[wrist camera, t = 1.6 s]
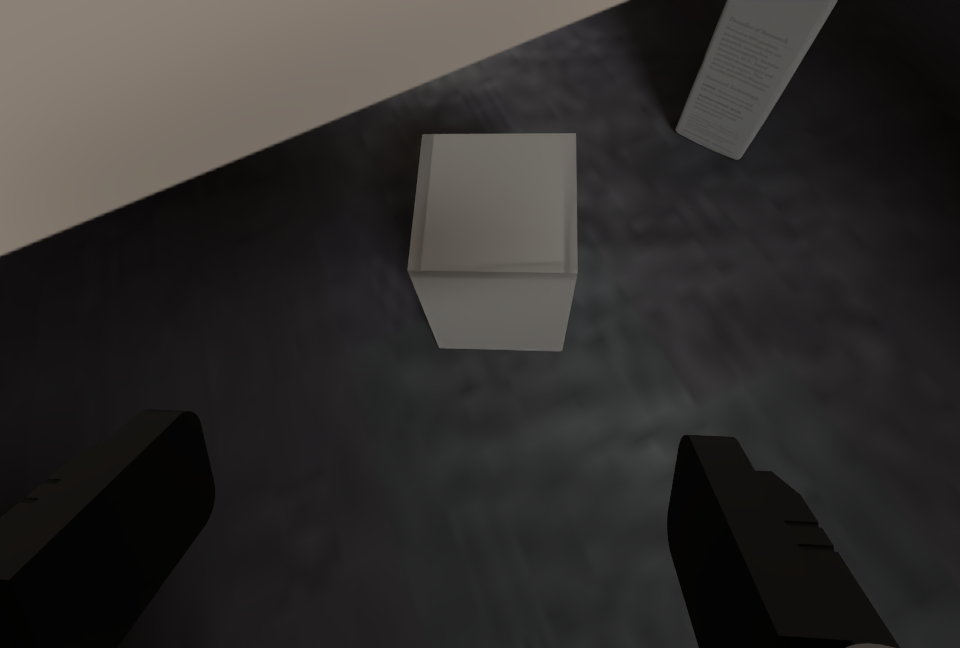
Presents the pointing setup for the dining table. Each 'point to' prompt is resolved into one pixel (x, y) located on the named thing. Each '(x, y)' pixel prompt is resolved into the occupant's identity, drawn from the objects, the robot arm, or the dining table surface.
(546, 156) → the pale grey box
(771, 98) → the skincare box
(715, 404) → the dining table surface
